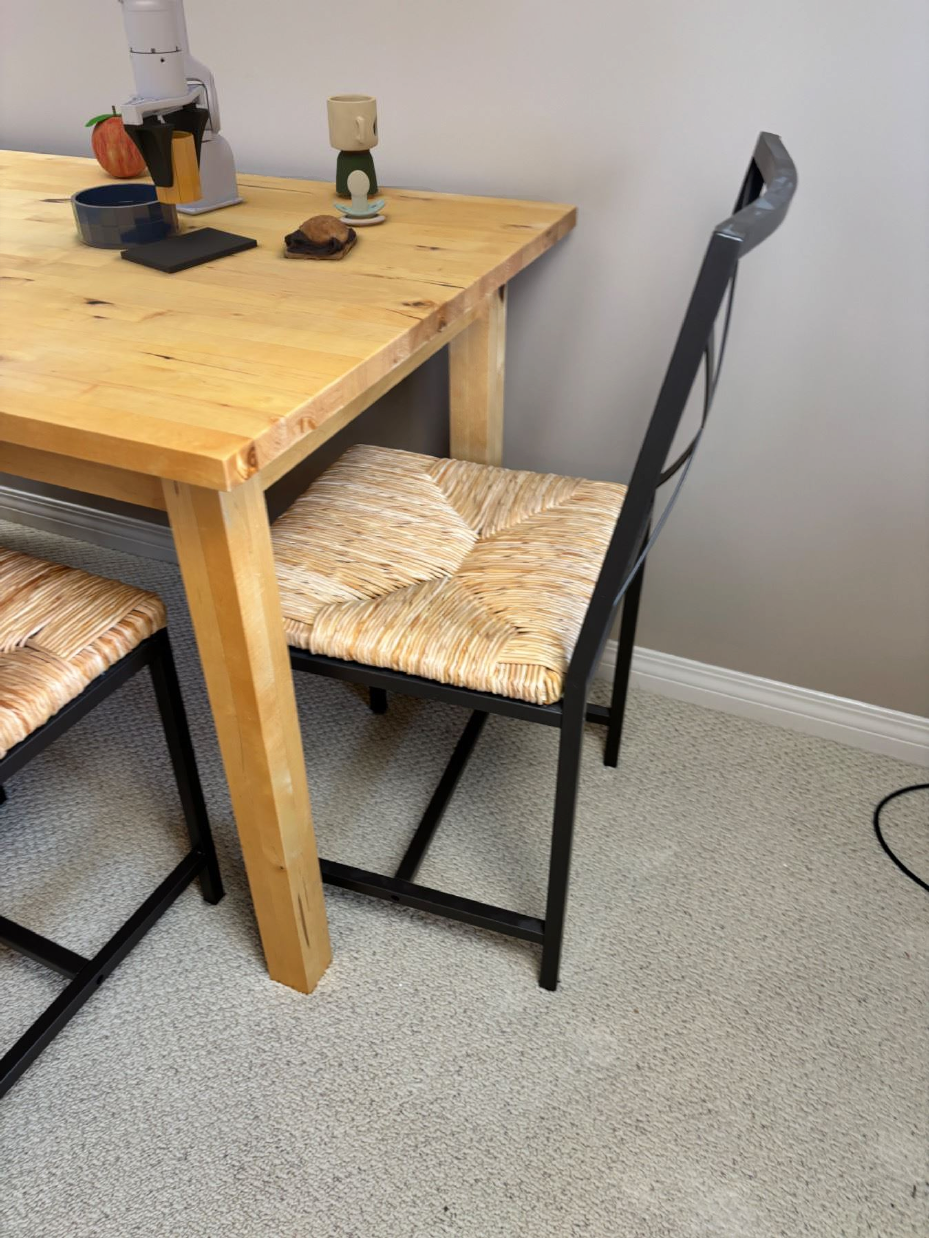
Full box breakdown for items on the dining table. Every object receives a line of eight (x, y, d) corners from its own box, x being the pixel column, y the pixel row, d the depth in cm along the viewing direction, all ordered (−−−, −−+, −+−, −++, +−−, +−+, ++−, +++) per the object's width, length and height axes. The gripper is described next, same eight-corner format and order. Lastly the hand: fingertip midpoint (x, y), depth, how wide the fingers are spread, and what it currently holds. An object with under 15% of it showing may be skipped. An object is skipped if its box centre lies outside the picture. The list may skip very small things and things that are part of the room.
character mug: (390, 202, 139) (386, 103, 131) (344, 206, 136) (337, 106, 128) (369, 185, 146) (364, 90, 139) (325, 189, 144) (317, 93, 136)
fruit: (98, 171, 153) (83, 102, 147) (158, 168, 155) (146, 100, 148) (95, 183, 146) (79, 112, 140) (158, 180, 148) (145, 109, 142)
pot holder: (209, 233, 125) (208, 227, 125) (257, 246, 121) (256, 240, 120) (121, 258, 117) (119, 251, 116) (170, 273, 112) (169, 266, 112)
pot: (140, 216, 132) (132, 178, 129) (200, 232, 126) (193, 193, 123) (60, 237, 124) (50, 196, 121) (119, 255, 118) (110, 213, 114)
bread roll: (301, 234, 126) (298, 205, 123) (362, 237, 125) (360, 207, 122) (277, 258, 117) (273, 227, 115) (343, 261, 116) (340, 230, 114)
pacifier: (390, 226, 129) (383, 213, 133) (389, 178, 125) (381, 166, 129) (337, 229, 128) (332, 216, 132) (334, 180, 124) (329, 168, 128)
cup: (183, 190, 118) (172, 128, 114) (212, 197, 115) (202, 134, 111) (148, 199, 115) (136, 135, 110) (177, 206, 112) (166, 141, 108)
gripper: (159, 41, 112) (180, 165, 120) (86, 57, 101) (114, 192, 109) (212, 44, 110) (229, 169, 118) (143, 60, 99) (167, 197, 107)
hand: (177, 180), depth 114 cm, fingers closed on cup, 5 cm apart
